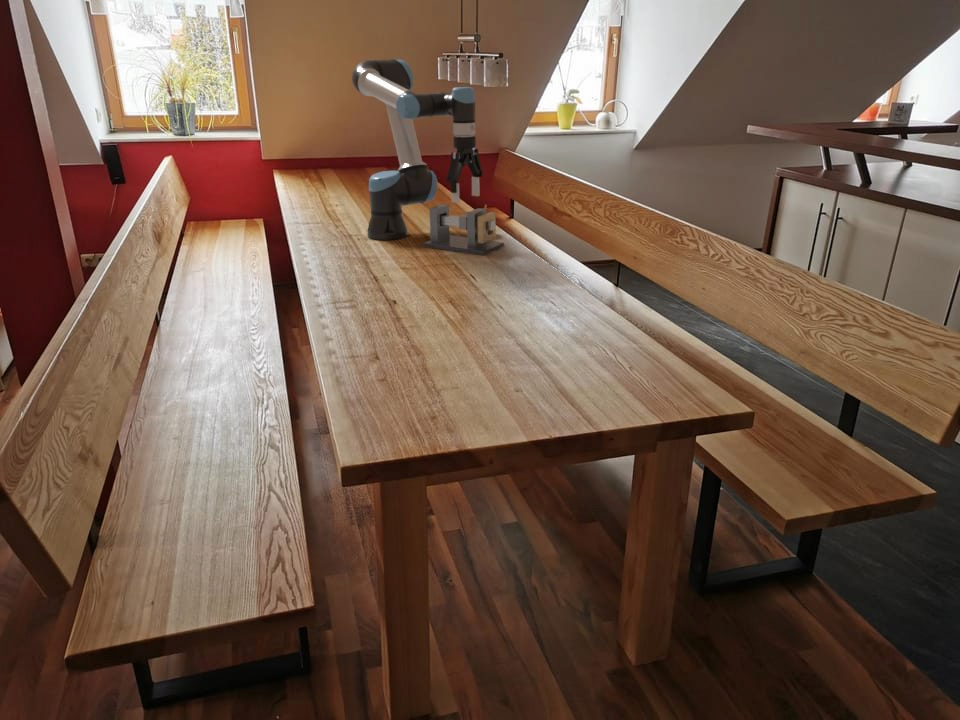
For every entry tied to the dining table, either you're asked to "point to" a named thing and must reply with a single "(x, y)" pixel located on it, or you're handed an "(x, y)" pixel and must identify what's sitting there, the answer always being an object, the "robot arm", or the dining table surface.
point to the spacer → (482, 221)
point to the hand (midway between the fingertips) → (465, 199)
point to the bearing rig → (455, 243)
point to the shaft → (462, 221)
